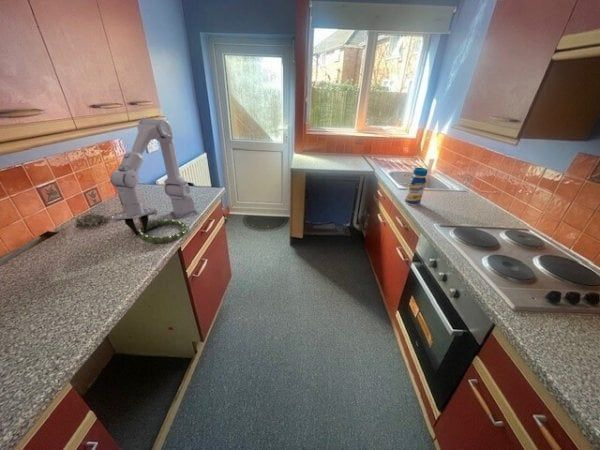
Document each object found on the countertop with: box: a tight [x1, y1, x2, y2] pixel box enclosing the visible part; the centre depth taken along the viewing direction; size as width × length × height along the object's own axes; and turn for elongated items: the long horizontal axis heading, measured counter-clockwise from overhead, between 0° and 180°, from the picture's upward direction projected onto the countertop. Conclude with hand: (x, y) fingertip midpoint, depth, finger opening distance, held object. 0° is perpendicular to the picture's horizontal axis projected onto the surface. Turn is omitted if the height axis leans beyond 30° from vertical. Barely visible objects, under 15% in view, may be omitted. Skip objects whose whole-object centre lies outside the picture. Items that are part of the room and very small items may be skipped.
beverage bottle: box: [404, 167, 429, 207], centre depth 139 cm, size 8×8×20 cm
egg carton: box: [72, 212, 106, 227], centre depth 109 cm, size 11×8×4 cm
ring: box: [137, 219, 190, 244], centre depth 103 cm, size 18×18×2 cm
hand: (141, 233), depth 99 cm, fingers closed on ring, 2 cm apart
